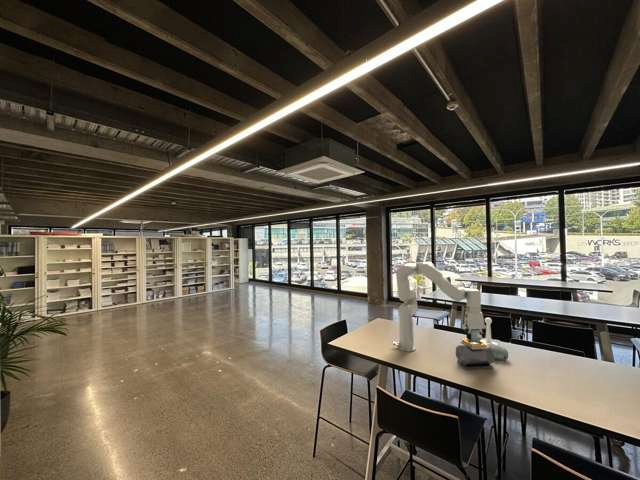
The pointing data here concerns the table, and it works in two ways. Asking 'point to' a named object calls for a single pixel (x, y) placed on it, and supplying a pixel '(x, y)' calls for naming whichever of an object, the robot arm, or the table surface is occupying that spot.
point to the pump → (475, 335)
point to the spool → (499, 352)
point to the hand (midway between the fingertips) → (474, 338)
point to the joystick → (488, 333)
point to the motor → (474, 355)
